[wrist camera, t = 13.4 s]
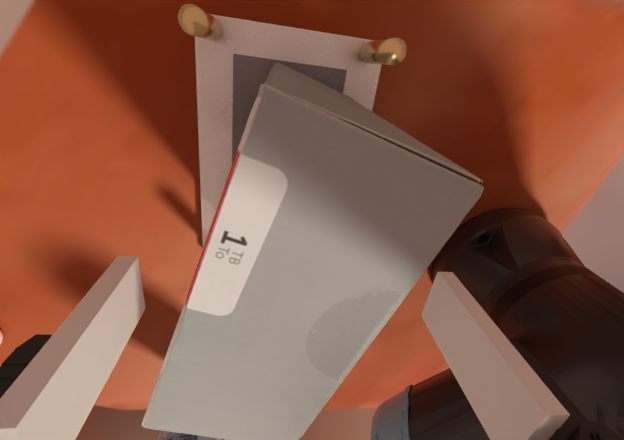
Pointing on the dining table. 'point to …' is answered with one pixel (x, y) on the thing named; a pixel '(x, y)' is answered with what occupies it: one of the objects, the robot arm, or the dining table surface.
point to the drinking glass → (1, 337)
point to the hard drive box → (303, 262)
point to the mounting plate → (254, 71)
